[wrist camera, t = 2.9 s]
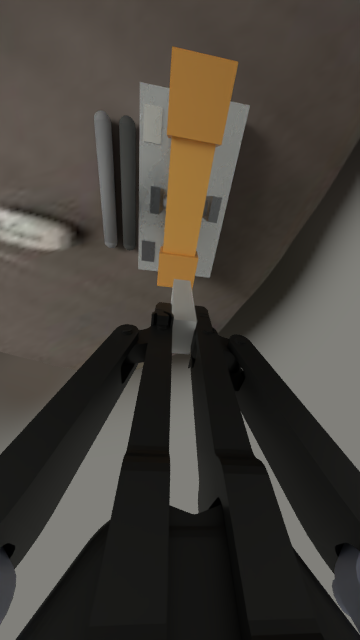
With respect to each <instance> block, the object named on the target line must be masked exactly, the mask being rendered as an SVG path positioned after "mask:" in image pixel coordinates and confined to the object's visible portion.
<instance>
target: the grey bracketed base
mask: <svg viewBox="0 0 360 640" xmlns="http://www.w3.org/2000/svg"><path fill="white" fill-rule="evenodd" d="M169 90H170V88H166V87H161V86H156V85H151V84H147V83H142V82H140V140H139V258H138V269H143V270H151V271H158V265H159V252H160V248H161V246H163V244H164V230H165V217H166V210H165V209H163V196H164V194H167V191H168V177H169V164H170V151H171V138H168V137H167V122H168V106H169ZM249 107H250V105H245V104H241V103H236V102H231V101H230V106H229V111H228V116H227V121H226V125H225V130H224V135H223V140H222V145H220V146H218V147H215V153H214V158H213V163H212V169H211V174H210V179H209V184H208V190H207V195H206V200H205V201H208V207H207V212H206V215H205V216H204V215H203V216H202V221H201V227H200V232H199V237H198V243H197V248H196V251H197V254H198V263H197V268H196V273H195V276H200V277H208V278H210V274H211V270H212V266H213V262H214V257H215V253H216V249H217V244H218V240H219V236H220V232H221V227H222V223H223V219H224V214H225V210H226V206H227V202H228V197H229V193H230V189H231V184H232V180H233V176H234V172H235V167H236V163H237V159H238V154H239V150H240V146H241V142H242V137H243V133H244V129H245V124H246V120H247V116H248V112H249Z"/></svg>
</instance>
